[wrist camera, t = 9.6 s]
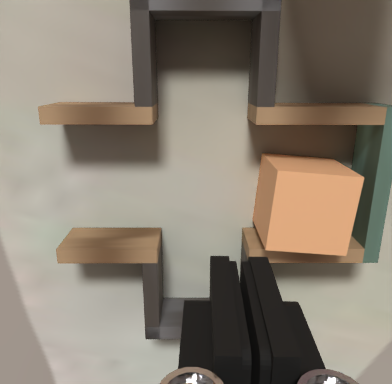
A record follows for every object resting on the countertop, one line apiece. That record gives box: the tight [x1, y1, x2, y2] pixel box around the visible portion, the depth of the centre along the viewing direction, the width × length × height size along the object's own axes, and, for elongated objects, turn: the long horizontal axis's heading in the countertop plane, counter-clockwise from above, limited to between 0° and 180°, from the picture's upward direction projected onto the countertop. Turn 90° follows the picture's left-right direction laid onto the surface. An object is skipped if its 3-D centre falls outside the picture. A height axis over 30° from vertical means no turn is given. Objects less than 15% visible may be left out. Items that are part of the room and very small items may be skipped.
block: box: [253, 153, 364, 256], centre depth 24 cm, size 5×5×5 cm
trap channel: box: [38, 0, 392, 339], centre depth 24 cm, size 21×22×4 cm
